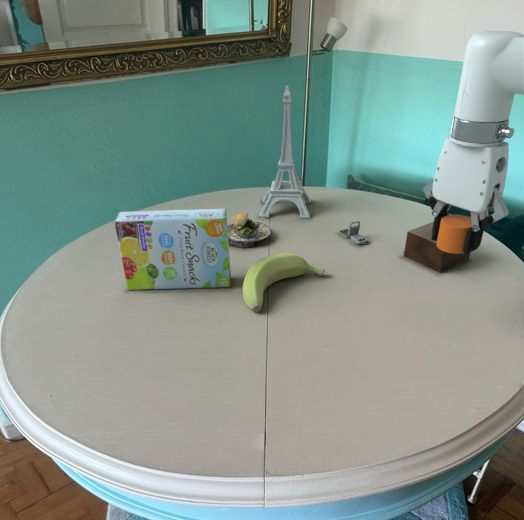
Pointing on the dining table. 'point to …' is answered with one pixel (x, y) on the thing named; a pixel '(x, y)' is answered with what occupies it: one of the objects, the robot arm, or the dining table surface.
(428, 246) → the walnut block
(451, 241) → the orange puck
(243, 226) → the burger
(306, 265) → the banana
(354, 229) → the strap clip
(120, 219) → the snack box
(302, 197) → the eiffel tower
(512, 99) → the robot arm
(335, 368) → the dining table surface
